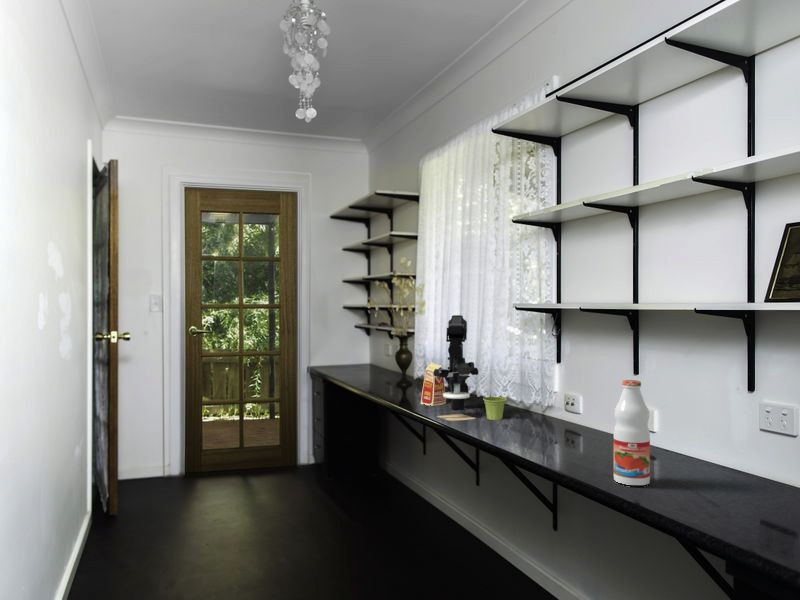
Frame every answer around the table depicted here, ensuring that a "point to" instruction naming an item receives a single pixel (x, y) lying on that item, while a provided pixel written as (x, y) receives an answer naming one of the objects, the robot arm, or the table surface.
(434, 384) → the milk carton
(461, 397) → the lid
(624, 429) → the fruit juice
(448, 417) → the mat
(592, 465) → the table surface
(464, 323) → the robot arm
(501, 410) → the plant pot
